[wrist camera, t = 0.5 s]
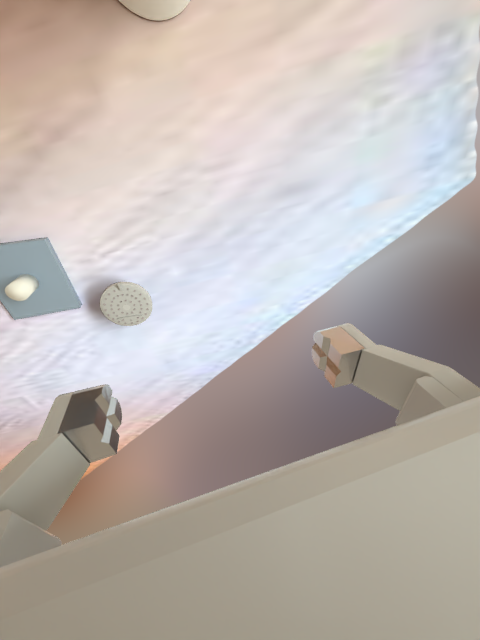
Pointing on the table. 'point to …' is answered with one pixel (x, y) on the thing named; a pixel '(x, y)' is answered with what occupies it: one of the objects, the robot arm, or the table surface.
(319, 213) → the table surface
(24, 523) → the robot arm
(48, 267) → the base
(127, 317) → the showerhead
